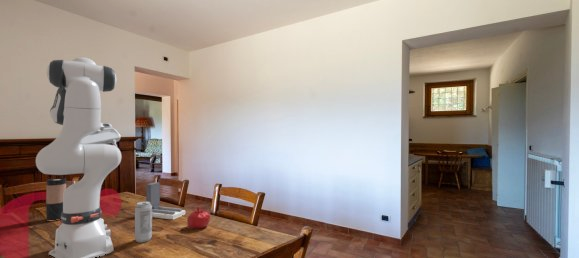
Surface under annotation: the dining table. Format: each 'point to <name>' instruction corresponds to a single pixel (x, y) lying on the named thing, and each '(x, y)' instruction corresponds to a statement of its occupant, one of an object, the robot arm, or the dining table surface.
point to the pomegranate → (198, 219)
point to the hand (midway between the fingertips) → (106, 149)
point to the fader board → (167, 213)
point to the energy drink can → (143, 222)
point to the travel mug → (55, 198)
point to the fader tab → (153, 194)
